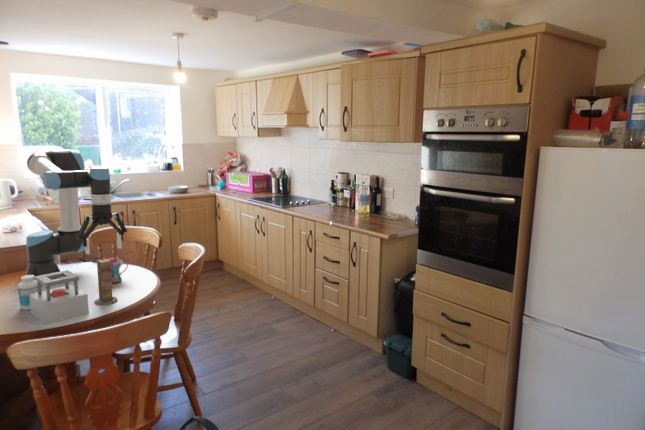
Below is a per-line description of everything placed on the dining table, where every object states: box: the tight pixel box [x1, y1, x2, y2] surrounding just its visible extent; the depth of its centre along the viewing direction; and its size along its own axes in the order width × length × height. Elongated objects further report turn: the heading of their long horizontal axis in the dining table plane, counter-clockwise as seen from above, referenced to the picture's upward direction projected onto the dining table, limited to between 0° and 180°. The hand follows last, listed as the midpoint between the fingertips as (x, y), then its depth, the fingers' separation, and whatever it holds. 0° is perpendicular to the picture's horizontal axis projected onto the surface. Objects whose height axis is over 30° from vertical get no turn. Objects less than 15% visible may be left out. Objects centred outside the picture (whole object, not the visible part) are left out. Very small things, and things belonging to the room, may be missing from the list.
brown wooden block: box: [96, 258, 114, 303], centre depth 187 cm, size 4×4×18 cm
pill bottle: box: [17, 275, 38, 311], centre depth 179 cm, size 8×7×14 cm
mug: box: [107, 258, 129, 284], centre depth 214 cm, size 12×9×11 cm
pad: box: [94, 296, 118, 306], centre depth 188 cm, size 9×9×1 cm
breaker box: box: [29, 269, 90, 325], centre depth 174 cm, size 16×16×16 cm
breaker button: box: [52, 288, 65, 298], centre depth 175 cm, size 4×4×8 cm
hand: (103, 250), depth 189 cm, fingers open, 13 cm apart
